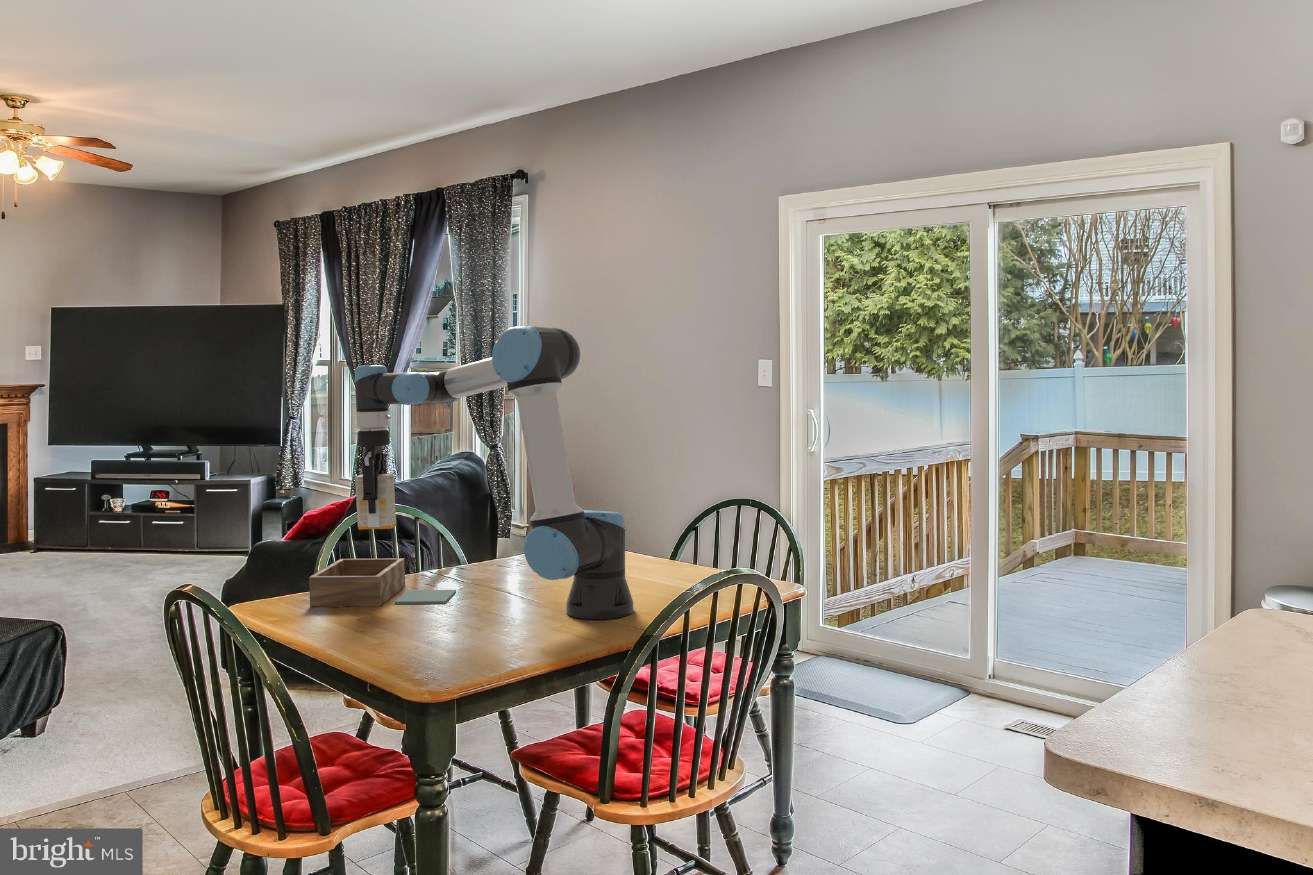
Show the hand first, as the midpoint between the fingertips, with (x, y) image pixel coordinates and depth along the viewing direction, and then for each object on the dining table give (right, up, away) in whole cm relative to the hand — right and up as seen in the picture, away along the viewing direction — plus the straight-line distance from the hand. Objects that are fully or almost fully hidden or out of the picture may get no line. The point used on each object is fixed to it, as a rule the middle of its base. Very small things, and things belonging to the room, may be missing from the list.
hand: (377, 524), depth 235 cm
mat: (+12, -18, -1) cm, 21 cm away
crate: (-5, -18, +2) cm, 18 cm away
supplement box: (0, -1, 0) cm, 1 cm away
